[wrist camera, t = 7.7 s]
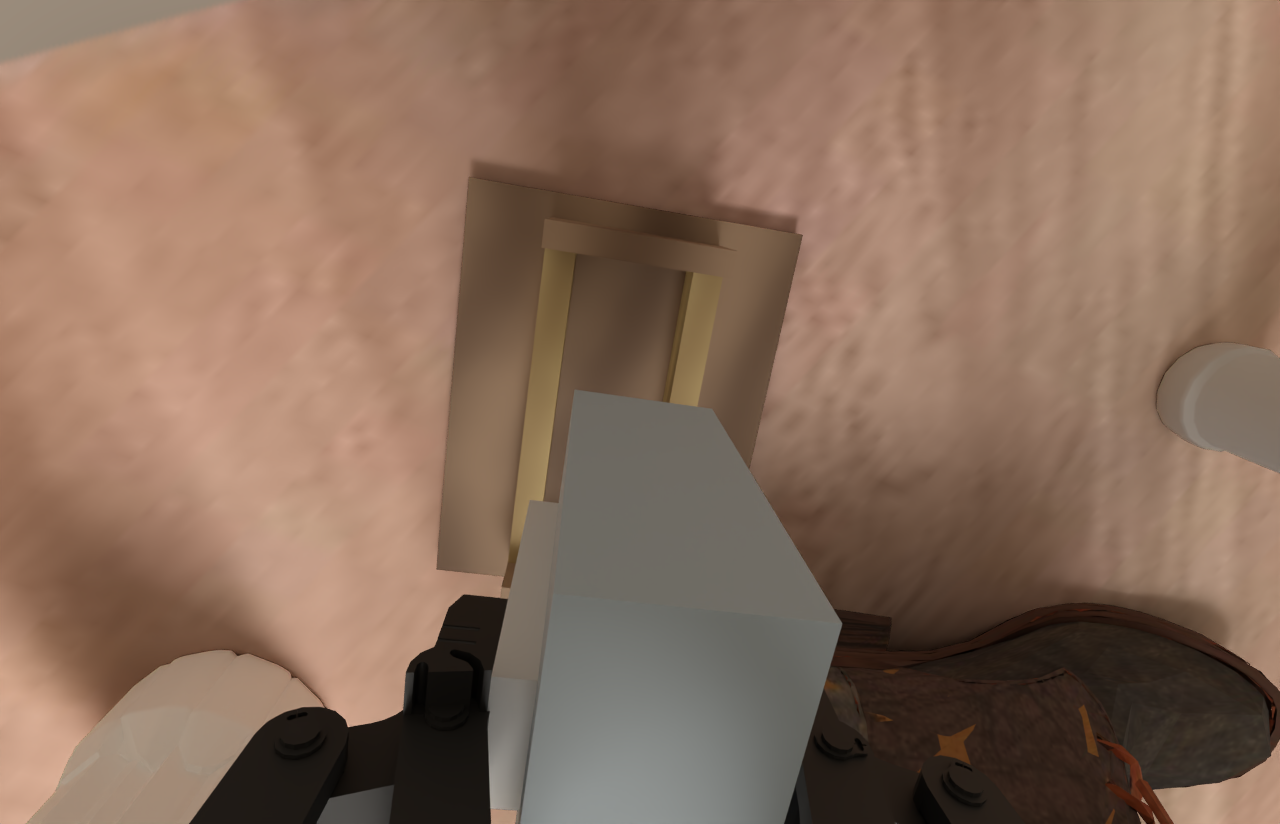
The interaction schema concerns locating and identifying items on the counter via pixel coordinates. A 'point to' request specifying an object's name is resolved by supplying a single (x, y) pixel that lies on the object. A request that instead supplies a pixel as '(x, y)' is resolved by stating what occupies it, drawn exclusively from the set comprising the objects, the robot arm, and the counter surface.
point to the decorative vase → (171, 740)
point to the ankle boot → (1062, 708)
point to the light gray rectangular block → (670, 631)
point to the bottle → (1225, 401)
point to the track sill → (592, 342)
